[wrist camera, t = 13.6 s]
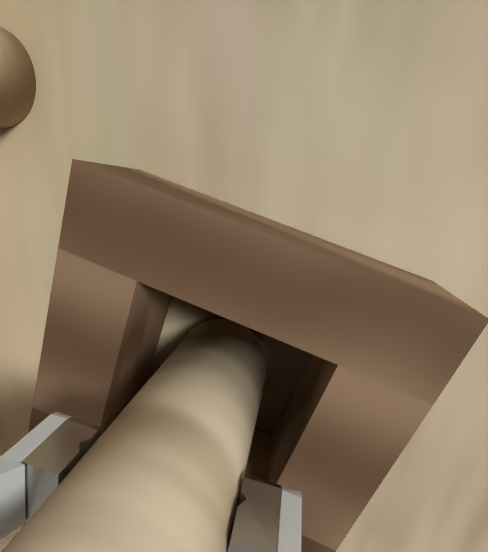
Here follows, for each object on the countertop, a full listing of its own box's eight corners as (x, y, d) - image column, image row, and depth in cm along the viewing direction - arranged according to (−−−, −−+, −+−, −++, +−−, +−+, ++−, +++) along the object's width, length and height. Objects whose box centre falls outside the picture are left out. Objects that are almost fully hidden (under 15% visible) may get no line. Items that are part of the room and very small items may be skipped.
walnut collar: (304, 502, 16) (304, 598, 12) (86, 401, 17) (24, 459, 13) (432, 281, 12) (490, 319, 8) (139, 169, 13) (72, 159, 10)
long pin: (233, 415, 14) (-40, 1249, 3) (165, 364, 14) (-362, 996, 3) (286, 357, 13) (158, 1406, 2) (211, 301, 13) (-398, 980, 2)
